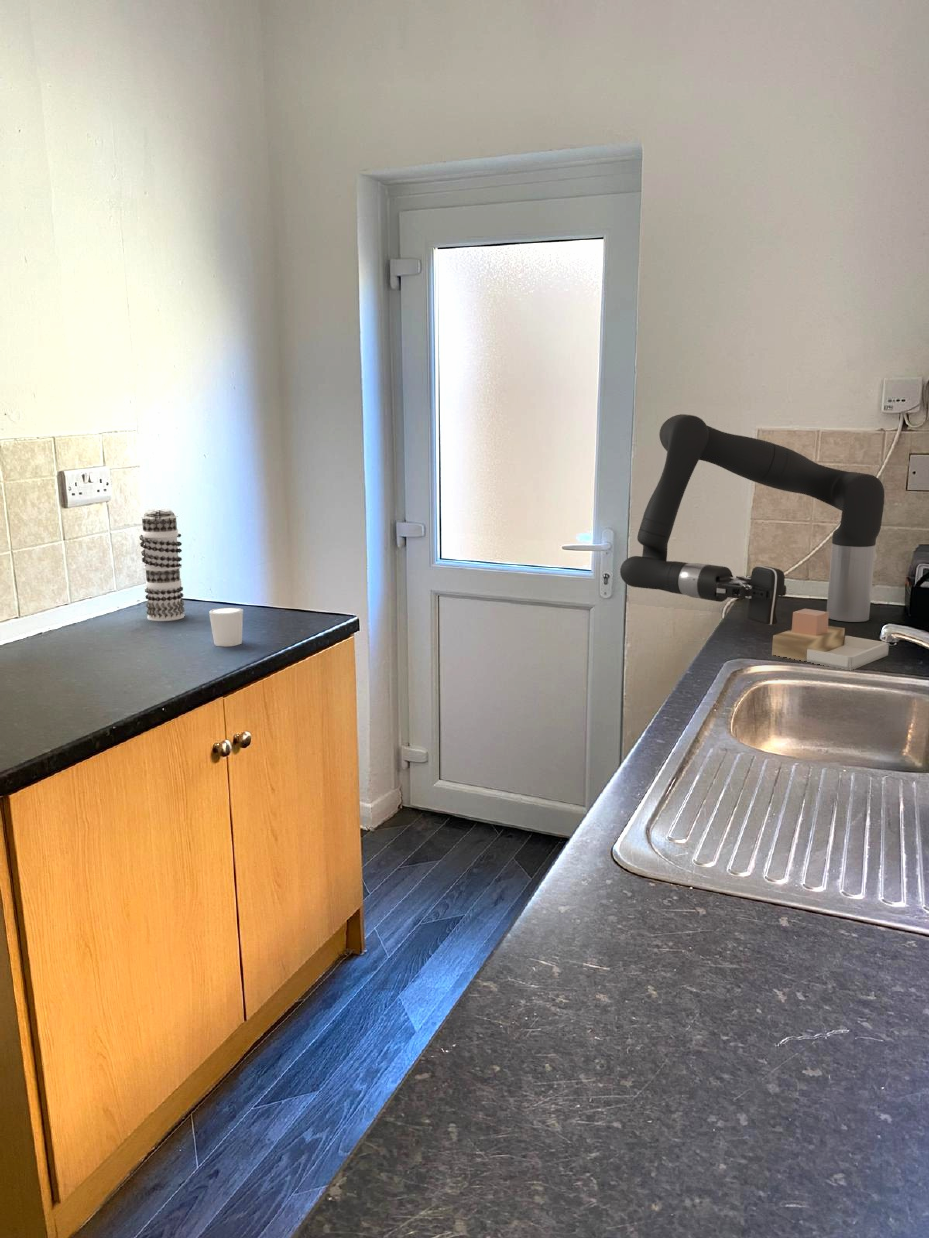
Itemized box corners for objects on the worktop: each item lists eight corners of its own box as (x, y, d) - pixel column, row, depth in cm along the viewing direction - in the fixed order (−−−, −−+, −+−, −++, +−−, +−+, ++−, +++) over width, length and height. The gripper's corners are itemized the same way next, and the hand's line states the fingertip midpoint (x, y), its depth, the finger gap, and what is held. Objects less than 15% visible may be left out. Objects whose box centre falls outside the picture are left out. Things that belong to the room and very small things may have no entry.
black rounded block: (783, 625, 195) (789, 569, 192) (767, 626, 193) (773, 570, 191) (760, 618, 201) (766, 564, 199) (745, 619, 200) (751, 564, 197)
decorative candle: (147, 614, 228) (140, 508, 222) (188, 612, 229) (181, 508, 224) (142, 622, 219) (134, 512, 214) (184, 620, 221) (177, 511, 215)
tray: (845, 647, 194) (846, 635, 193) (888, 655, 188) (889, 642, 187) (806, 662, 183) (807, 649, 182) (850, 670, 177) (851, 657, 176)
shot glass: (247, 645, 197) (245, 612, 196) (213, 648, 195) (211, 614, 193) (242, 638, 203) (240, 605, 202) (209, 641, 201) (207, 608, 199)
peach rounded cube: (803, 627, 194) (805, 608, 193) (827, 631, 190) (829, 612, 189) (791, 631, 190) (793, 612, 189) (815, 635, 187) (817, 615, 186)
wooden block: (810, 641, 199) (811, 623, 198) (843, 647, 194) (844, 628, 193) (771, 655, 188) (773, 635, 187) (805, 661, 183) (807, 641, 182)
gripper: (687, 568, 200) (761, 578, 188) (724, 560, 210) (796, 570, 198) (685, 603, 202) (758, 616, 190) (722, 594, 211) (794, 605, 199)
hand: (777, 592), depth 194 cm, fingers closed on black rounded block, 5 cm apart
